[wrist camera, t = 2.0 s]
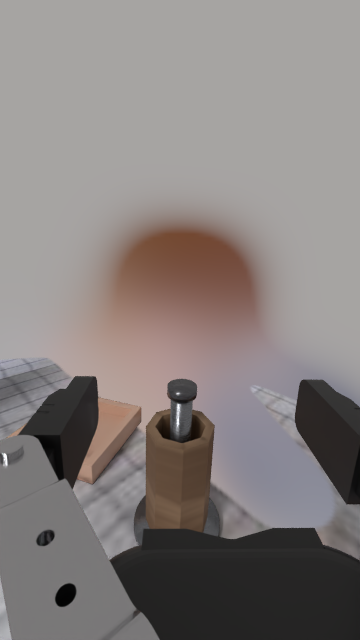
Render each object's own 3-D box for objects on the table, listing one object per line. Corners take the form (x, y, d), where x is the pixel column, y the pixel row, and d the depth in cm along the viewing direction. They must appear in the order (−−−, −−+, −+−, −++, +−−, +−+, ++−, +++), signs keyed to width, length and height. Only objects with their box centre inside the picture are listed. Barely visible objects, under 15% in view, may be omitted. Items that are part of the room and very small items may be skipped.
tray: (7, 455, 35) (4, 439, 34) (72, 404, 46) (71, 391, 45) (92, 484, 31) (91, 465, 31) (141, 421, 42) (141, 407, 42)
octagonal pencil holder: (138, 534, 26) (137, 438, 23) (165, 477, 32) (167, 396, 29) (197, 556, 24) (203, 455, 21) (214, 491, 30) (220, 407, 28)
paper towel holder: (117, 548, 25) (113, 400, 21) (154, 478, 32) (156, 359, 28) (208, 584, 23) (221, 425, 19) (225, 500, 30) (238, 373, 26)
